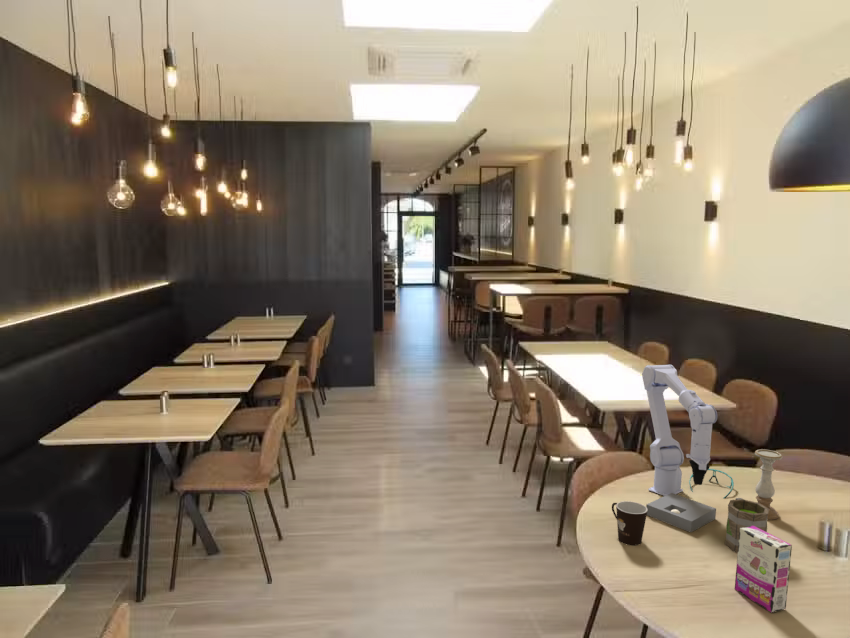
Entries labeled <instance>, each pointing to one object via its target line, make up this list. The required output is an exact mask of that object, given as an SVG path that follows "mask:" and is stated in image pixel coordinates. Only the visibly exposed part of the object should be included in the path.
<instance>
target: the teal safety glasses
mask: <svg viewBox="0 0 850 638" xmlns="http://www.w3.org/2000/svg"><path fill="white" fill-rule="evenodd" d="M707 471H712V476H711V477H710V479H708V482H711V481H712V480H713V478H714V479H715V481H716V483H717V484H719V480H718V478H717V476H716V473H717V472H718V473H722V474H724V475H726V477H728V478H729V479H730V486H728V485H726V487H727V488H729V489H730V490H729V491H728V493H726V494H725V496H724V497H723V498H722V500H723V499H726V498H727V497H728V496H729V495H730V494H731V493H732V492H733V489H734V486H735V485H734V479H733V477H732V476H730V474H728V473H726V472H724V471H722V470H719V469H715V468H709V469H708V470H707ZM692 479H693V473H692V474H691V475H690V477H689V480H688V481H689V488H690V491H691V492H692V493H694V491H693V488H692V484H691V480H692Z"/></svg>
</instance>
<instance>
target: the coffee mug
mask: <svg viewBox="0 0 850 638" xmlns="http://www.w3.org/2000/svg"><path fill="white" fill-rule="evenodd" d="M615 507H616V510H615ZM611 511H612V514H613V516H614V518H615V519H616V523H617V538H618V539H617V540H618V541H619V543H622V544H623V545H626V544H627V546H639V545H641V544H642V540H643V535H644V531H645V525H646V521H647V520H646V519H647V517H648V516H647V511H648V509H647V507H646V505H645V504H642V503H639V502H636V501H631V500H630V501H629V500H627V501H626V500H623V501H619V502H613V503H612V505H611Z"/></svg>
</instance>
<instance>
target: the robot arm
mask: <svg viewBox="0 0 850 638" xmlns="http://www.w3.org/2000/svg"><path fill="white" fill-rule="evenodd" d="M641 375H642V382H643V386H644V390H645V391H646V395H647V400H648V405H649V410H650V415H651V421H652V426H653V430H654V435H655V437H654V438H655V439H654V441H653V442H652V443H651V444H650V445H649V449H650V453H649V454H650V455H649V458H650V462H651V463H652V465H653V466H654V475H653V476H654V478H653V486H651V487H649V488H648V491H650V492H652V493H656V494H658V495H662V497H664V496H666V495H668V494H670V493H674V494H676V495H679V494H680V493H682V492H684V489H683V488H682V474H683V473H682V472H683V471H682V469H681V468H680V466H681V465H683V463H684V460H685V457H686V458H687V459H689V460H688V461H689V462H688V463H689V464H690V466H691V467H690V468H691V472H692V474H693V477H692V479H693V484H694V485H698V486H702V484H703V482H704V479H705V477H706V476H705V475H706V474H707V472H708V471H709V470H708V469H710V464H709V463H710V461H711V457H710V456H711V446H712V445H711V443H712V433H713V432H712V431H713V424H715V423H716V422H717V420H718V412H717V409H716V408H715V407H714V405H712V404H708V403H705V402H704V401H703V400H702V398H701V397H700V396H699V395H698V394H697V392H696V391H695V390H693V389H688V388H687V387H686V386H685V384H684V383H683V382H682V381H681V379H680V378H679V376H678V370H677V369H676V368H675V366H674V365H672V364H658V365H656V364H655V365H654V364H653V365H650V364H648V365H646V366H644V368H643V371H642V374H641ZM669 388H670V389H671V391H673V392H674V394H676V395H677V396H678V402H679V403H680V404H681V406H682V407H683V408H684V409H685V410H686V412H687V413H688V418H689V420H690V428H691V439H690V440H691V441H690V453H686V454H684V452H683V450H682V448H681V445H680V442H678V441H677V440H676V439H674V438H673V437H672V432H671V431H672V430H671V426H670V423H669V422H670V421H669V416H668V412H667V406H666V401H665V398H664V397H665V396H664V392H665V390H667V389H669Z"/></svg>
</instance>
